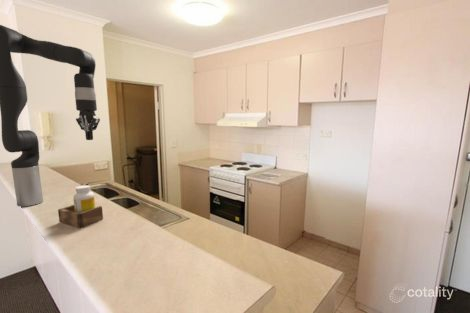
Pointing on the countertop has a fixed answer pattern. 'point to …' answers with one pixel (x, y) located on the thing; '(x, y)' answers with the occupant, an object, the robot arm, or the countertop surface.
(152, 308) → the countertop surface
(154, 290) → the countertop surface
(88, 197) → the supplement bottle
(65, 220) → the walnut bay
